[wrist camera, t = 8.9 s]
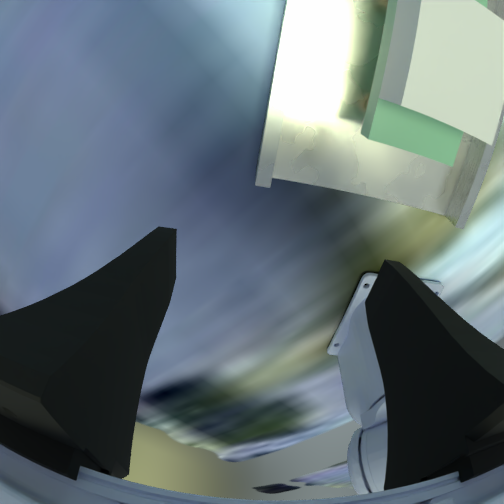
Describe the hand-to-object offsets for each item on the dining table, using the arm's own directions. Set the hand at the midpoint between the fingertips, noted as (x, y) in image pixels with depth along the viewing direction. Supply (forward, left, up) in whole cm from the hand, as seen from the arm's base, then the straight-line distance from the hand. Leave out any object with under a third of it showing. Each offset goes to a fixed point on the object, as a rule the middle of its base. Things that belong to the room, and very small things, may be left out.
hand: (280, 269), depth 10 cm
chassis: (+9, -6, -9) cm, 14 cm away
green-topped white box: (+9, -6, -6) cm, 12 cm away
